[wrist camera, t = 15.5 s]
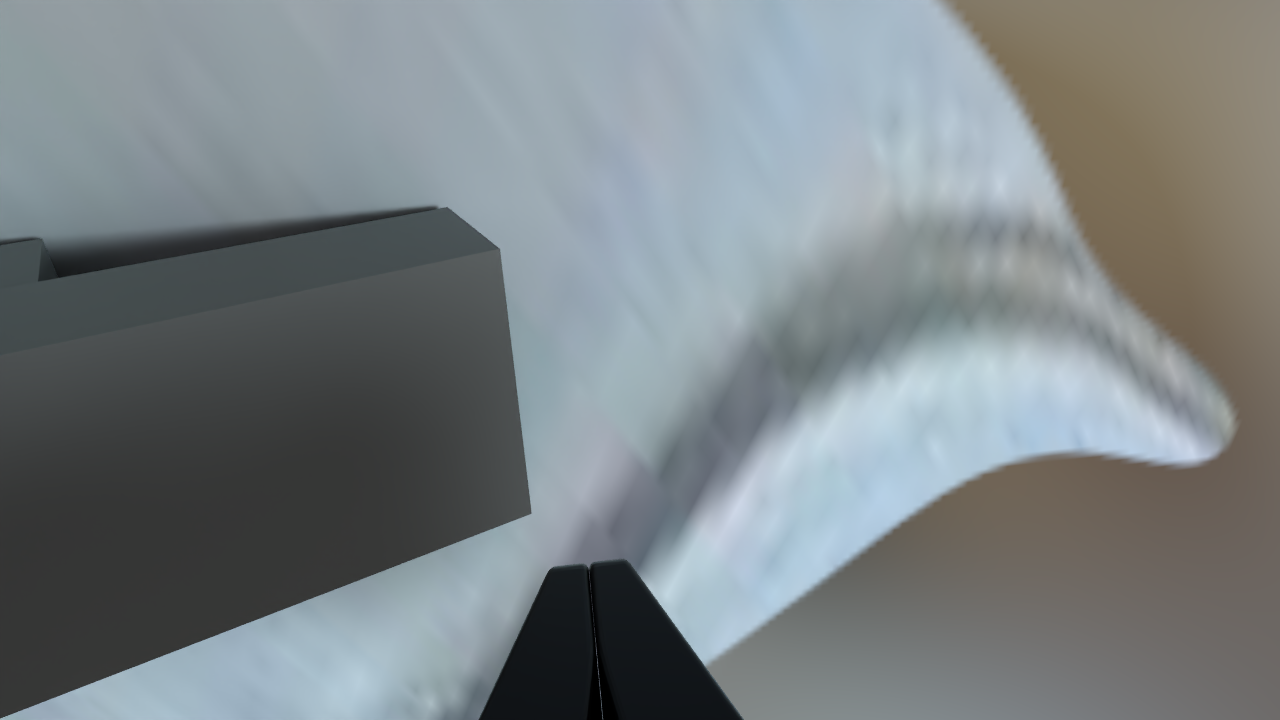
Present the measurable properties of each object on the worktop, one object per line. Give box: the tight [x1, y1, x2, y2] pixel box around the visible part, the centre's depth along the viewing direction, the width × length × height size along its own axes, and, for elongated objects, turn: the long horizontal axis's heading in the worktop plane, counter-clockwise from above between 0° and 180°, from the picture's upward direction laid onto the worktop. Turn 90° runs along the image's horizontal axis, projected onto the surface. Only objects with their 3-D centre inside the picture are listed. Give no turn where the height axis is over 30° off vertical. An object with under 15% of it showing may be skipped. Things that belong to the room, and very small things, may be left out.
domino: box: [0, 207, 531, 718], centre depth 11 cm, size 2×5×9 cm
